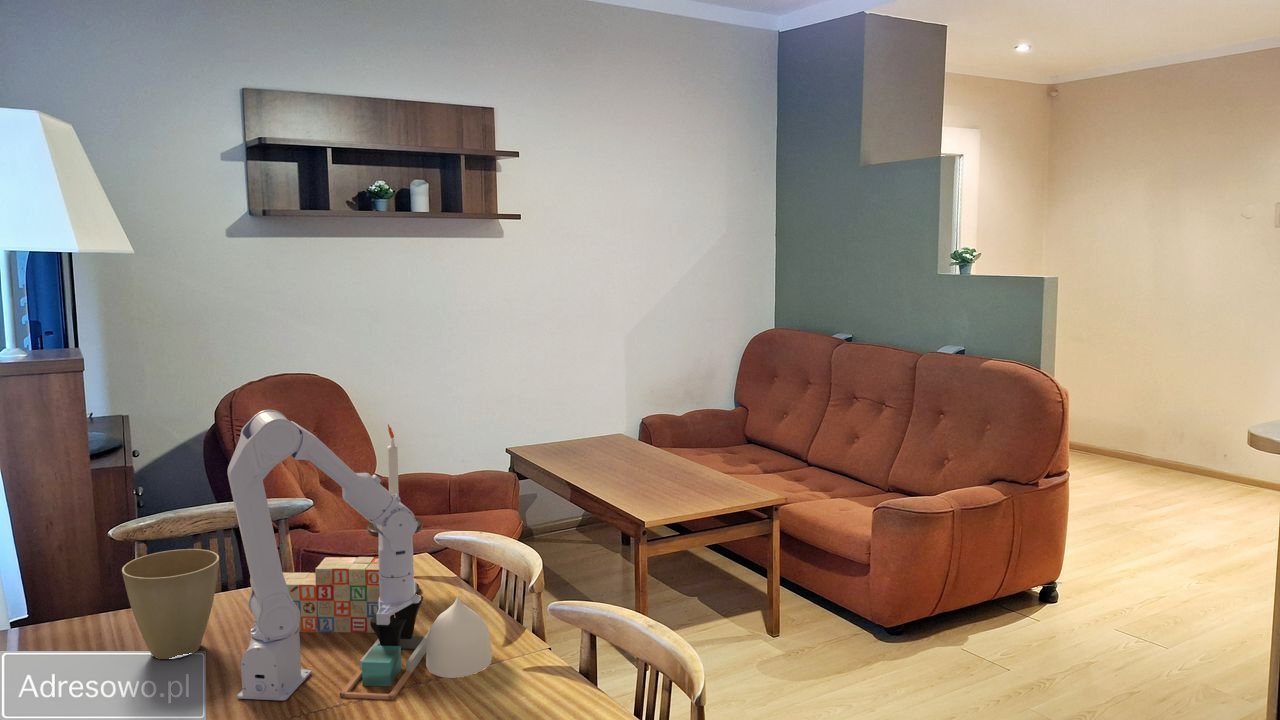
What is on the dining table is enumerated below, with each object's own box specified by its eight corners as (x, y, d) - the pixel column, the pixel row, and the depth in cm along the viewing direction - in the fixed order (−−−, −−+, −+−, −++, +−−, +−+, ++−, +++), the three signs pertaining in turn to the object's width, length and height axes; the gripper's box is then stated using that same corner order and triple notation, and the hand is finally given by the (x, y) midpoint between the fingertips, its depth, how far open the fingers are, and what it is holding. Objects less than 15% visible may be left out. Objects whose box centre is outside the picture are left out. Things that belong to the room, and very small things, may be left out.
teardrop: (414, 660, 155) (412, 593, 153) (471, 642, 162) (470, 578, 160) (445, 685, 146) (443, 614, 145) (504, 665, 154) (503, 597, 152)
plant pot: (212, 665, 152) (207, 574, 150) (115, 674, 149) (108, 581, 147) (232, 629, 167) (227, 545, 165) (144, 636, 164) (138, 550, 162)
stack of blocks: (266, 633, 165) (263, 568, 164) (280, 619, 172) (277, 556, 170) (384, 633, 166) (382, 568, 164) (393, 619, 172) (391, 556, 170)
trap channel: (393, 699, 141) (392, 687, 141) (339, 697, 142) (339, 685, 142) (439, 633, 166) (439, 622, 165) (393, 631, 166) (393, 621, 166)
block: (390, 686, 146) (389, 662, 145) (362, 685, 146) (361, 662, 145) (401, 668, 152) (400, 646, 151) (374, 668, 152) (373, 645, 151)
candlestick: (375, 607, 177) (370, 431, 173) (363, 588, 187) (357, 421, 182) (430, 597, 182) (426, 426, 178) (416, 579, 192) (411, 416, 187)
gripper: (405, 588, 147) (407, 668, 149) (432, 558, 162) (433, 630, 163) (362, 587, 148) (365, 666, 149) (393, 556, 162) (395, 629, 164)
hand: (398, 647), depth 156 cm, fingers open, 7 cm apart
